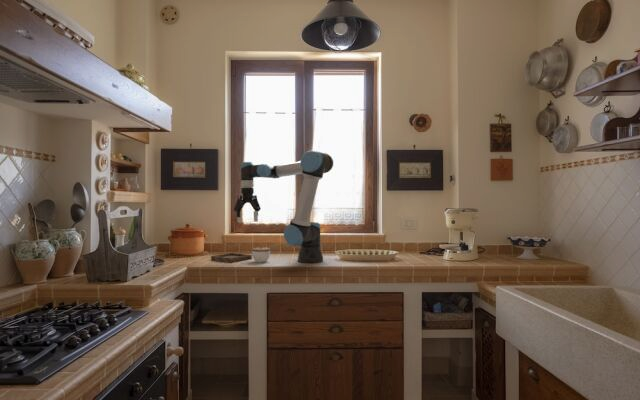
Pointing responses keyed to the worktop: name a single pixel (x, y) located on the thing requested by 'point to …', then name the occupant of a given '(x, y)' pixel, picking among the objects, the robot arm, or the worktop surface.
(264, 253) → the lidded jar
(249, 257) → the walnut tray
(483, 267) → the worktop surface
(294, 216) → the robot arm
